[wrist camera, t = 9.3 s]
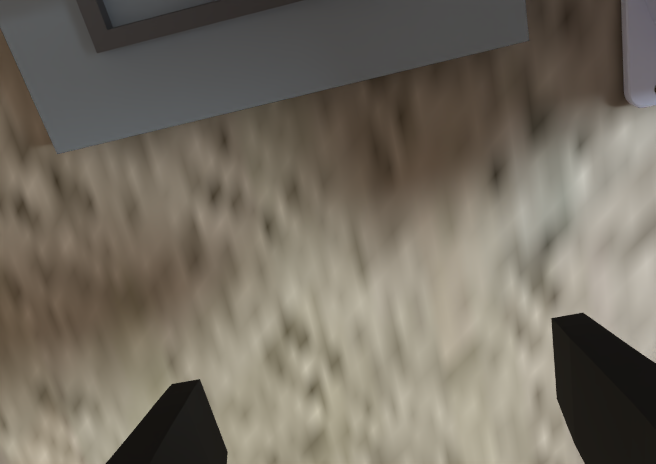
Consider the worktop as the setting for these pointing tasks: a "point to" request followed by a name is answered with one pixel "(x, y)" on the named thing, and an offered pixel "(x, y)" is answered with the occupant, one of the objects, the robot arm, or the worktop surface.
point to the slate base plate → (225, 54)
